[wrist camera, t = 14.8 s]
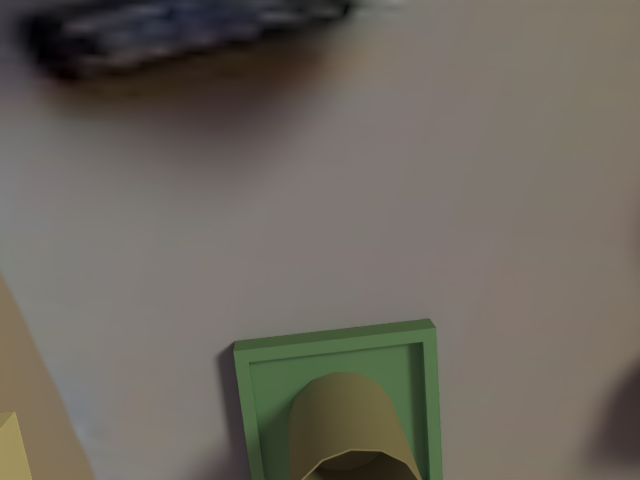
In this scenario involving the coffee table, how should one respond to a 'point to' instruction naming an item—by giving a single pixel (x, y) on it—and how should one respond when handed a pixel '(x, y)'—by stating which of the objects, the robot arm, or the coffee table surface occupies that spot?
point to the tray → (339, 356)
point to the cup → (347, 432)
